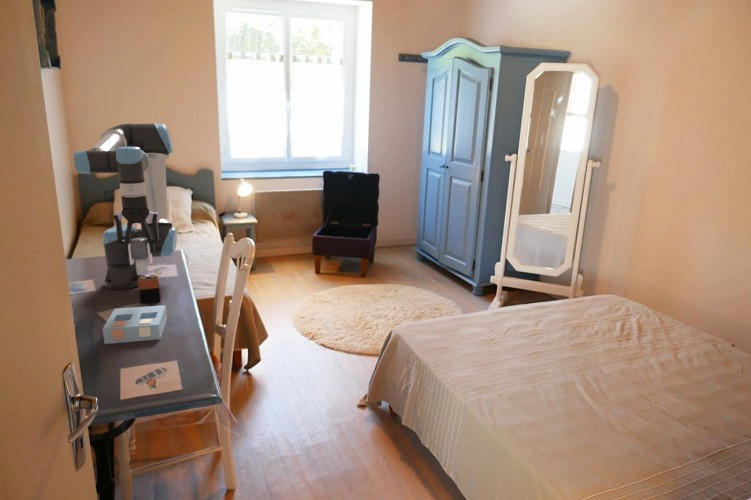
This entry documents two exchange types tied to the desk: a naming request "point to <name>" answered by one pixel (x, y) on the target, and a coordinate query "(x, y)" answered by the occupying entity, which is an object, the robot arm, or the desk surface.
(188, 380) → the desk surface
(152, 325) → the socket board
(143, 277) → the battery
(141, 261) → the grey piece
